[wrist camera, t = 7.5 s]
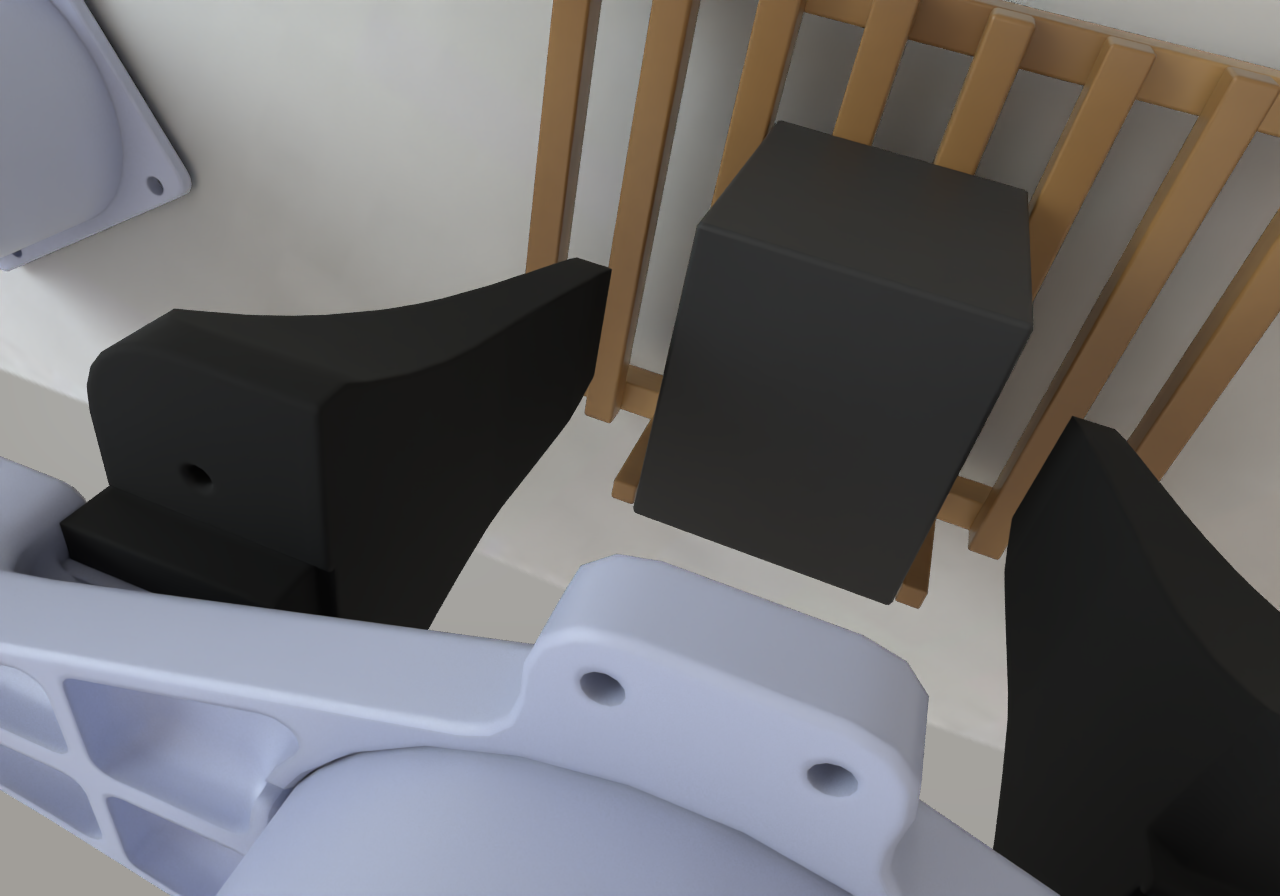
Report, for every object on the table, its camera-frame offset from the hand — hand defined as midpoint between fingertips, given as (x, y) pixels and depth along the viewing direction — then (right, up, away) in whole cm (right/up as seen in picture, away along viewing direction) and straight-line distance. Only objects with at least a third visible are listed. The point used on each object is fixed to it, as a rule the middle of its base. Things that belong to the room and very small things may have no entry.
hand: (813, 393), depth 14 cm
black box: (+1, +2, +3) cm, 4 cm away
